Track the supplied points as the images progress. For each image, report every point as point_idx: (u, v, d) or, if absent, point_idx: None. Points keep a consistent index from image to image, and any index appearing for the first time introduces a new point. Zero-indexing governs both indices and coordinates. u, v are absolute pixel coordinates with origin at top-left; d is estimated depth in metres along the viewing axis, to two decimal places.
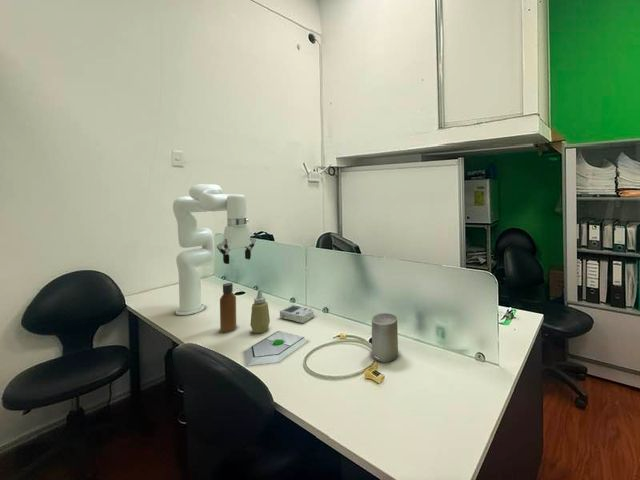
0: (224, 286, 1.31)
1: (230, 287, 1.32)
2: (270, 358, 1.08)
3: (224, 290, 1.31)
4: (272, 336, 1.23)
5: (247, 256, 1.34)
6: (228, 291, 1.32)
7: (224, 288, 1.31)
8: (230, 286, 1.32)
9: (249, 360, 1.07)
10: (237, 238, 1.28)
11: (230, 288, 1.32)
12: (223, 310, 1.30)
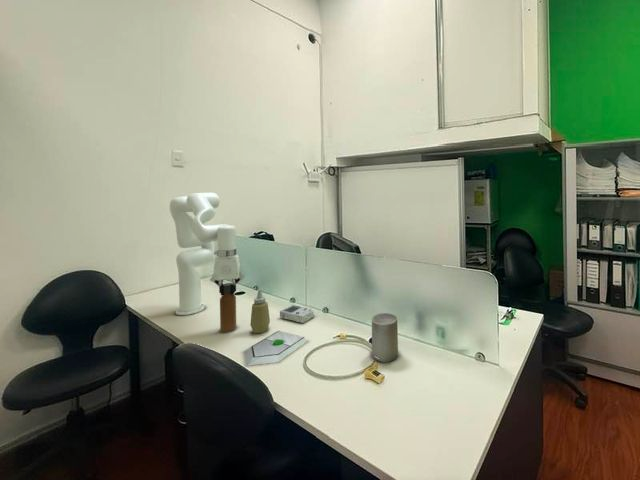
0: (224, 286, 1.31)
1: (230, 287, 1.32)
2: (270, 358, 1.08)
3: (224, 290, 1.31)
4: (272, 336, 1.23)
5: None
6: (228, 291, 1.32)
7: (224, 288, 1.31)
8: (230, 286, 1.32)
9: (249, 360, 1.07)
10: None
11: (230, 288, 1.32)
12: (223, 310, 1.30)
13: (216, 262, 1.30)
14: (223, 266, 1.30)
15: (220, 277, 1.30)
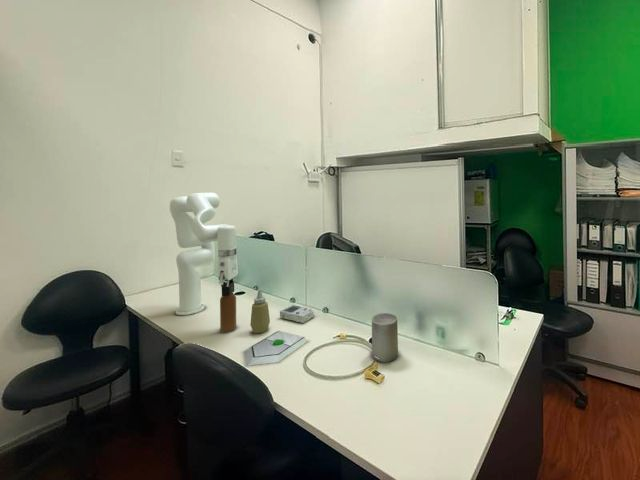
0: (230, 285, 1.32)
1: None
2: (270, 358, 1.08)
3: (230, 289, 1.32)
4: (272, 336, 1.23)
5: None
6: (232, 289, 1.34)
7: (230, 287, 1.32)
8: None
9: (249, 360, 1.07)
10: None
11: None
12: (223, 310, 1.30)
13: (229, 262, 1.29)
14: (232, 265, 1.32)
15: (231, 276, 1.31)
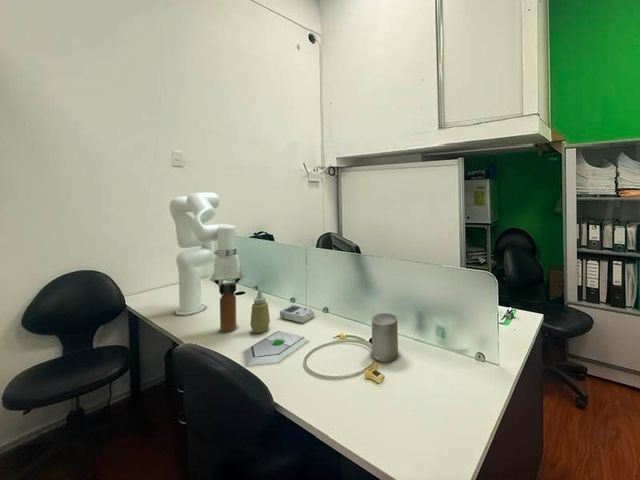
0: None
1: None
2: (270, 358, 1.08)
3: None
4: (272, 336, 1.23)
5: None
6: None
7: None
8: None
9: (249, 360, 1.07)
10: None
11: None
12: (223, 310, 1.30)
13: (216, 262, 1.30)
14: (223, 266, 1.30)
15: (220, 277, 1.30)
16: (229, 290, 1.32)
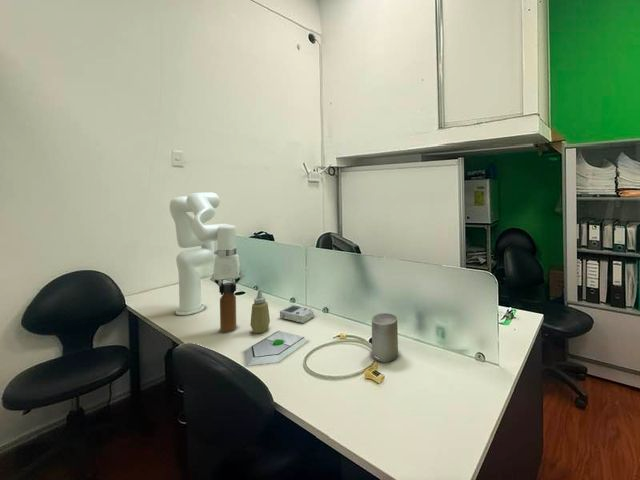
0: None
1: None
2: (270, 358, 1.08)
3: None
4: (272, 336, 1.23)
5: None
6: None
7: None
8: None
9: (249, 360, 1.07)
10: None
11: None
12: (223, 310, 1.30)
13: (216, 261, 1.30)
14: (223, 265, 1.30)
15: (220, 276, 1.30)
16: None
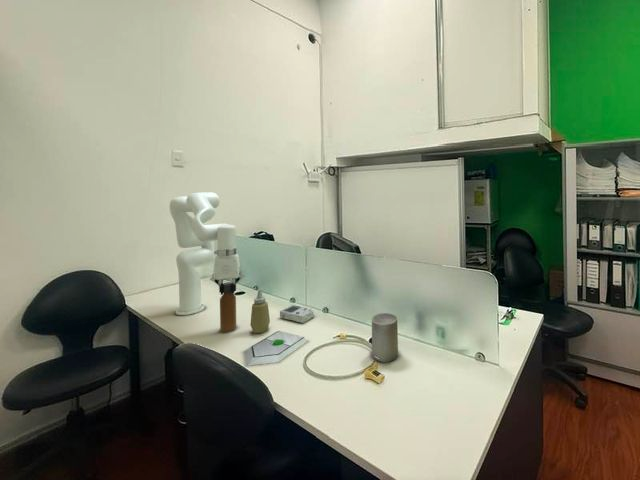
0: (223, 285, 1.32)
1: (225, 287, 1.31)
2: (270, 358, 1.08)
3: (223, 288, 1.32)
4: (272, 336, 1.23)
5: None
6: (224, 291, 1.31)
7: (223, 287, 1.32)
8: (226, 286, 1.31)
9: (249, 360, 1.07)
10: None
11: (226, 288, 1.31)
12: (223, 310, 1.30)
13: (216, 261, 1.30)
14: (223, 265, 1.30)
15: (220, 276, 1.30)
16: None
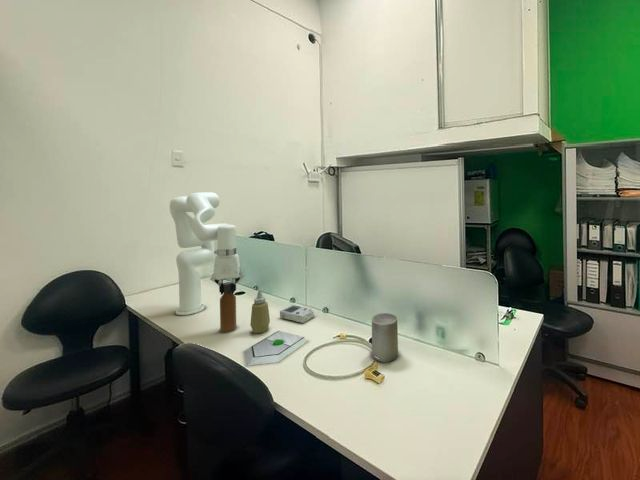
0: (226, 285, 1.31)
1: (231, 286, 1.33)
2: (270, 358, 1.08)
3: (226, 289, 1.31)
4: (272, 336, 1.23)
5: None
6: (230, 290, 1.32)
7: (226, 287, 1.31)
8: (231, 285, 1.33)
9: (249, 360, 1.07)
10: None
11: (231, 287, 1.33)
12: (223, 310, 1.30)
13: (216, 261, 1.30)
14: (223, 265, 1.30)
15: (220, 276, 1.30)
16: None
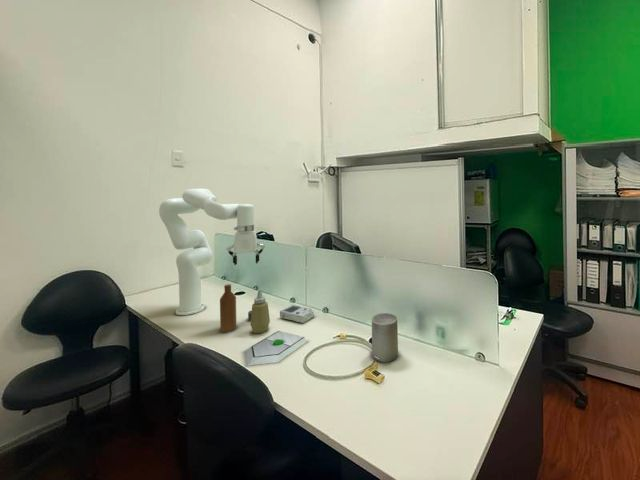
0: None
1: None
2: (270, 358, 1.08)
3: None
4: (272, 336, 1.23)
5: (236, 261, 1.45)
6: None
7: None
8: None
9: (249, 360, 1.07)
10: None
11: None
12: (223, 310, 1.30)
13: (236, 236, 1.43)
14: (242, 240, 1.43)
15: (240, 250, 1.43)
16: None
